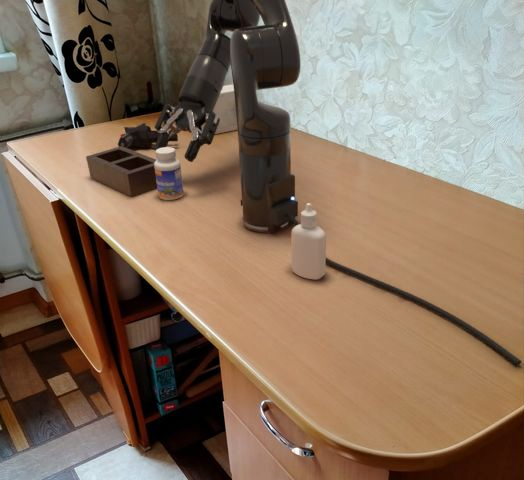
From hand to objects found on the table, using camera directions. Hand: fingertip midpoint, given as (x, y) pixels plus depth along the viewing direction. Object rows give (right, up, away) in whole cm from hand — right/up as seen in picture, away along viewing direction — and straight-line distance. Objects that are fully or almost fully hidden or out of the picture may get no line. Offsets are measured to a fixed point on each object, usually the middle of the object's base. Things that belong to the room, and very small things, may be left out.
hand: (173, 156), depth 119 cm
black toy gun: (-10, +13, +31) cm, 35 cm away
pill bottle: (-1, -7, +4) cm, 8 cm away
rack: (-12, -2, +11) cm, 17 cm away
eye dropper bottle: (+26, -28, -25) cm, 46 cm away
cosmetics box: (+8, +21, +40) cm, 46 cm away
